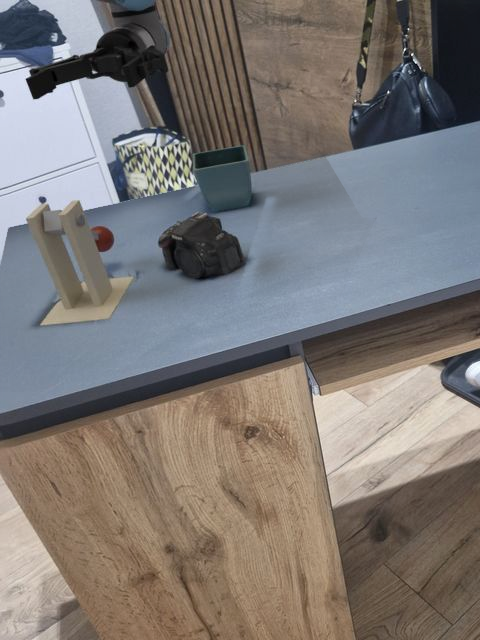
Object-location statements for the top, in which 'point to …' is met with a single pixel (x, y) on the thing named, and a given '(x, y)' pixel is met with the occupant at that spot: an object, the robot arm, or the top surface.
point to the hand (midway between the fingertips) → (79, 83)
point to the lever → (100, 233)
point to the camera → (200, 247)
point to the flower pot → (224, 177)
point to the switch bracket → (75, 297)
